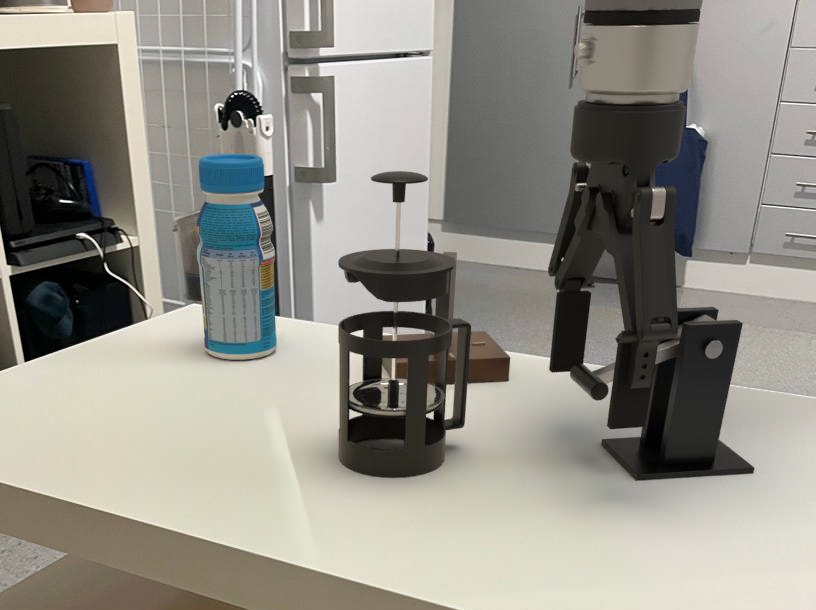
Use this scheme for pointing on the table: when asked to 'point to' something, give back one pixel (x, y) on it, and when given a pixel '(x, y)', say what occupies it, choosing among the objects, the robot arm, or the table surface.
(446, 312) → the dark gray upright plate
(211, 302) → the beverage bottle
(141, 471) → the table surface
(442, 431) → the french press
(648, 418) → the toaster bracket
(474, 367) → the brown box
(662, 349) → the lever
